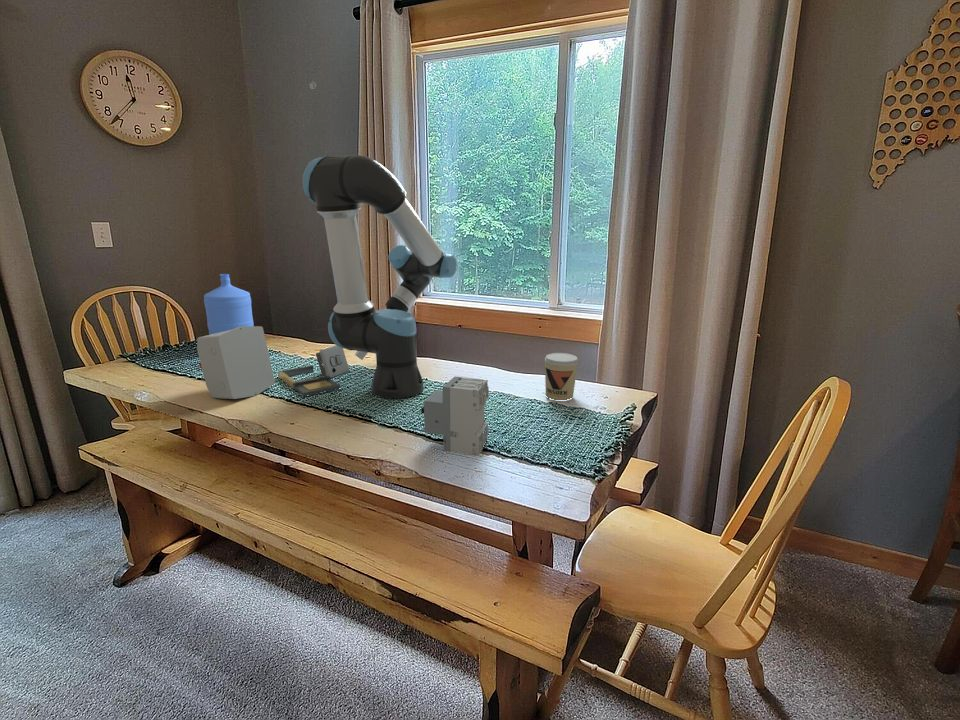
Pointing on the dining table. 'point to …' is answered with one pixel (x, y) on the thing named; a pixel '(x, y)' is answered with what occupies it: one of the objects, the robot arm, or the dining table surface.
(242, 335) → the electrical switch box
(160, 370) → the dining table surface
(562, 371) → the coffee cup
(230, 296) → the water jug
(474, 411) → the circuit breaker
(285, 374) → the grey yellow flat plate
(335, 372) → the electrical switch
